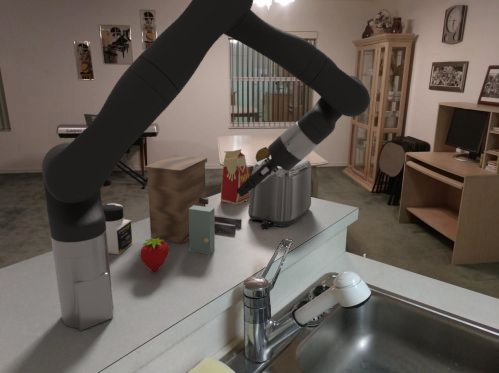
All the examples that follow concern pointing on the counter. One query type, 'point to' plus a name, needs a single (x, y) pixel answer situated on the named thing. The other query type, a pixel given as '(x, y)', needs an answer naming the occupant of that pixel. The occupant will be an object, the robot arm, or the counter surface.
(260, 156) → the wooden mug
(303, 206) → the toaster
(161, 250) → the strawberry
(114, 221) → the medicine bottle
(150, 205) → the wooden cabinet
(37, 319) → the counter surface
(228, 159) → the milk carton
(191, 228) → the gray-green rectangular block
